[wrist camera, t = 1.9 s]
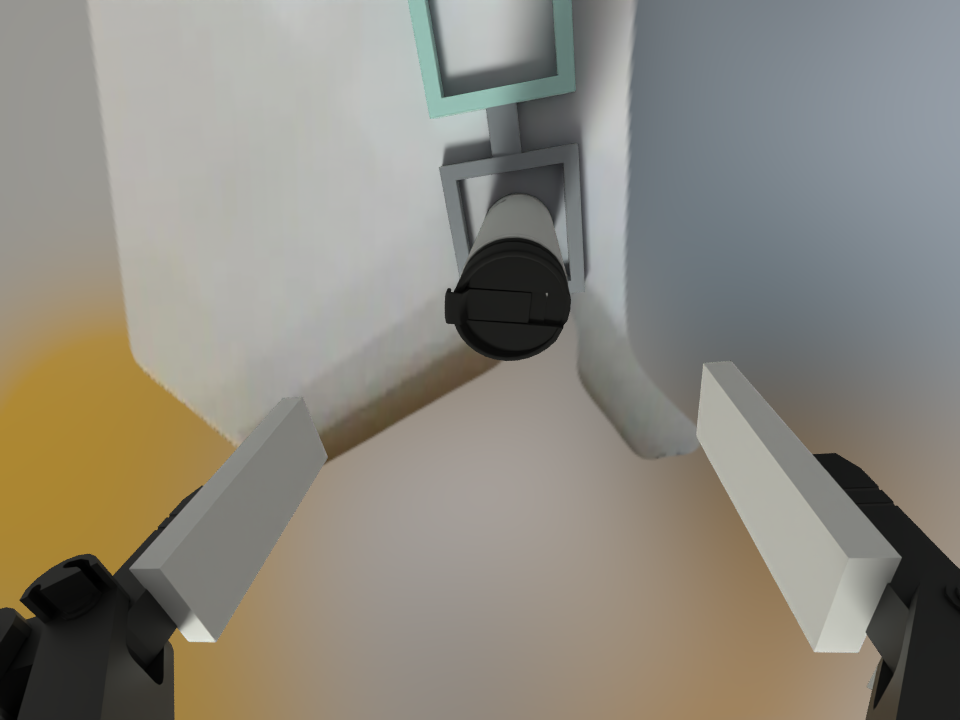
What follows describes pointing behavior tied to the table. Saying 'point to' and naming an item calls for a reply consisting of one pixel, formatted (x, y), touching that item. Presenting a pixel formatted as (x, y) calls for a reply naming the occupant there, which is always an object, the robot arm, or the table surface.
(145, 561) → the robot arm
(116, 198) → the table surface
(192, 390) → the table surface
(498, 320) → the travel mug
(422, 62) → the frame
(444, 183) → the frame
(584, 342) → the table surface
